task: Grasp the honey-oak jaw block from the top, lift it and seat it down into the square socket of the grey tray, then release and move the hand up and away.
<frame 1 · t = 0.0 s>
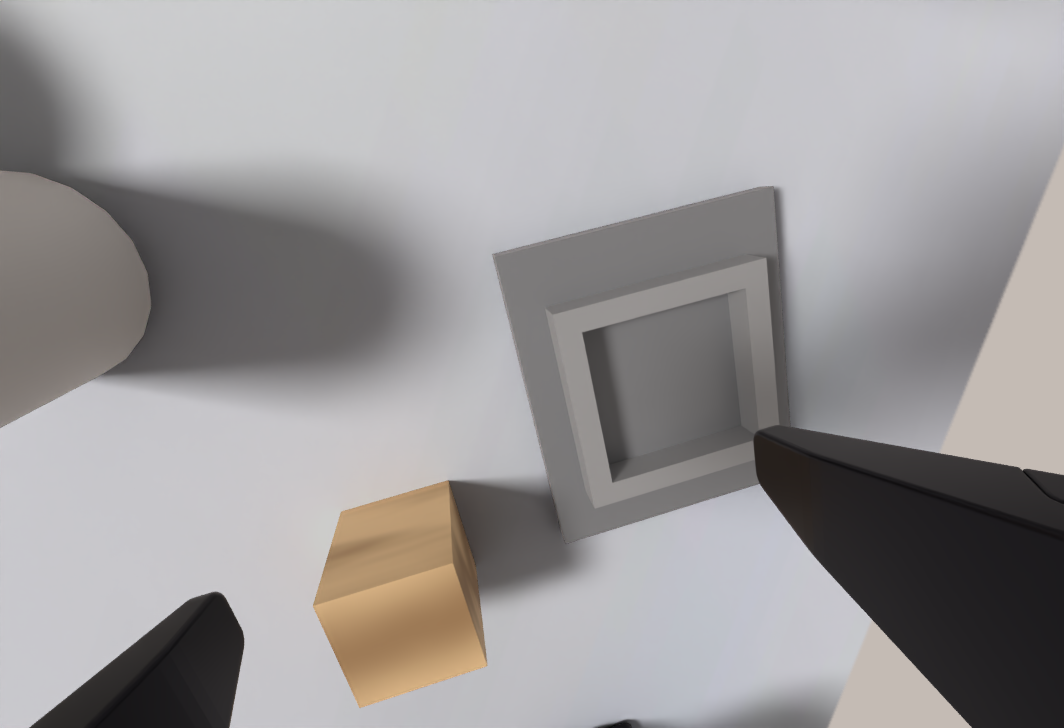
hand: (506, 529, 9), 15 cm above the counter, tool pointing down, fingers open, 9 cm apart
can: (52, 279, 20), on the counter
oak jaw block: (411, 539, 25), on the counter
grey tray: (653, 371, 25), on the counter
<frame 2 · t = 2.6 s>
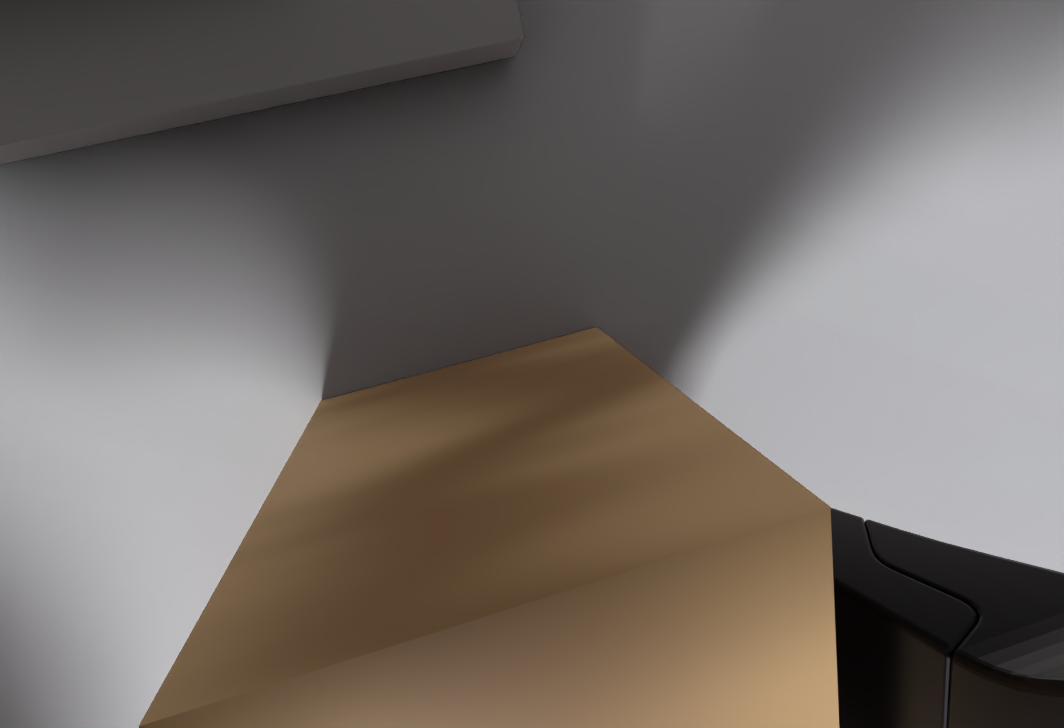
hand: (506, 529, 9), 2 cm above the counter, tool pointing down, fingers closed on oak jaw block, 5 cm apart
oak jaw block: (496, 482, 10), on the counter, touching gripper
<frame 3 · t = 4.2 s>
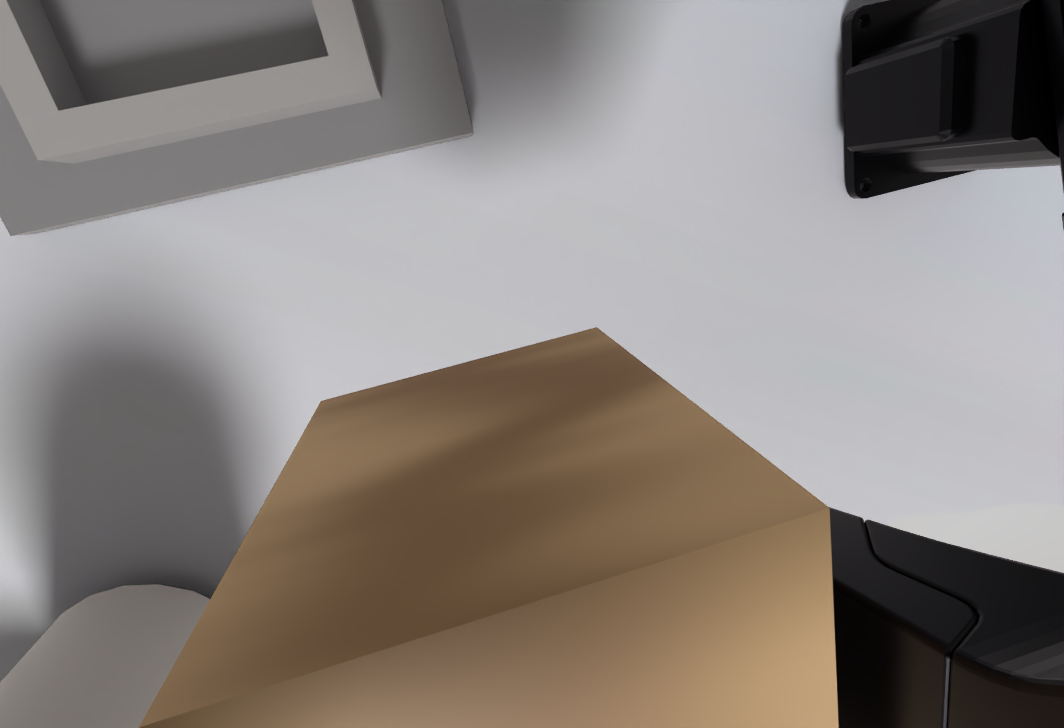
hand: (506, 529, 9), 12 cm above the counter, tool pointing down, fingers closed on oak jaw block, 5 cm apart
can: (165, 642, 22), on the counter
oak jaw block: (496, 483, 10), point 10 cm above the counter, touching gripper
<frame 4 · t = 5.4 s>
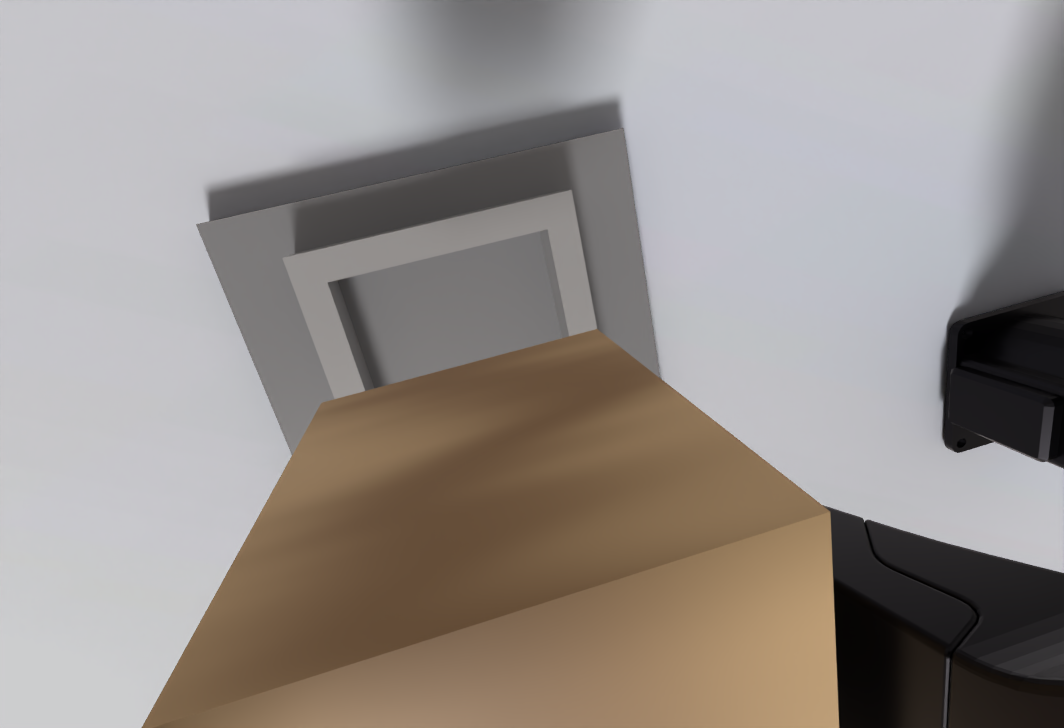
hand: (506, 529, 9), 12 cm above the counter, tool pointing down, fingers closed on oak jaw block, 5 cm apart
oak jaw block: (496, 484, 10), point 10 cm above the counter, touching gripper
grey tray: (464, 340, 20), on the counter
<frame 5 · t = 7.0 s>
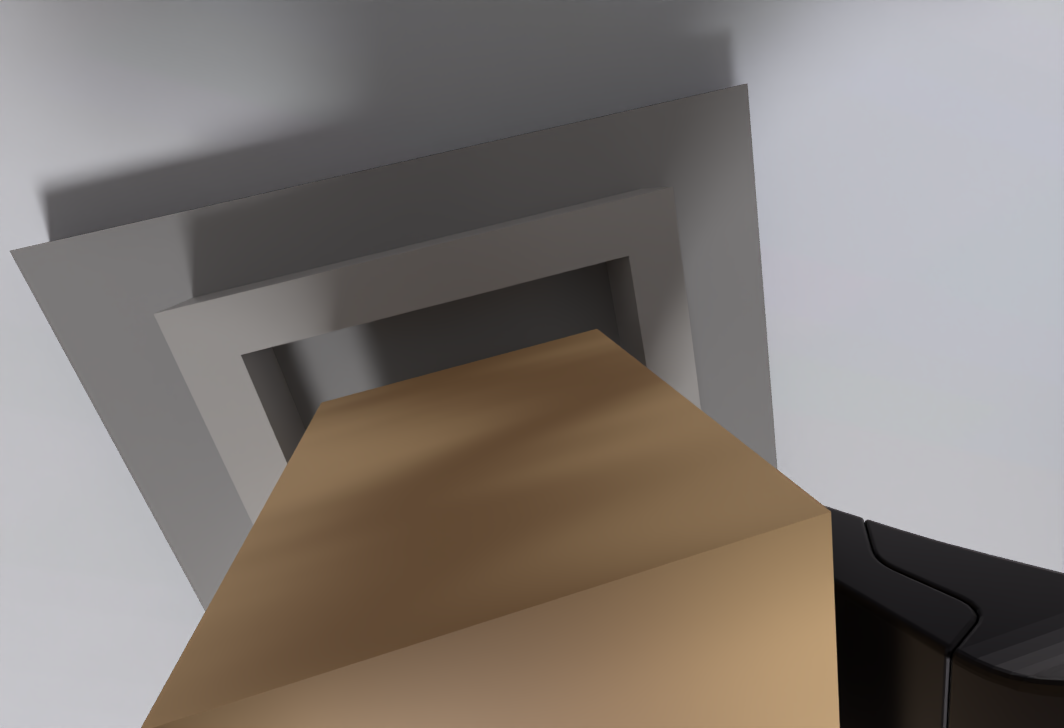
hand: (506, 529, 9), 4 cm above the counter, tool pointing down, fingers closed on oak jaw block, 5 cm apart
oak jaw block: (496, 484, 10), point 3 cm above the counter, touching gripper
grey tray: (479, 422, 13), on the counter
when the fingers open (3 cm above the counter, at t = 8.4 s): oak jaw block stays where it is, resting on grey tray.
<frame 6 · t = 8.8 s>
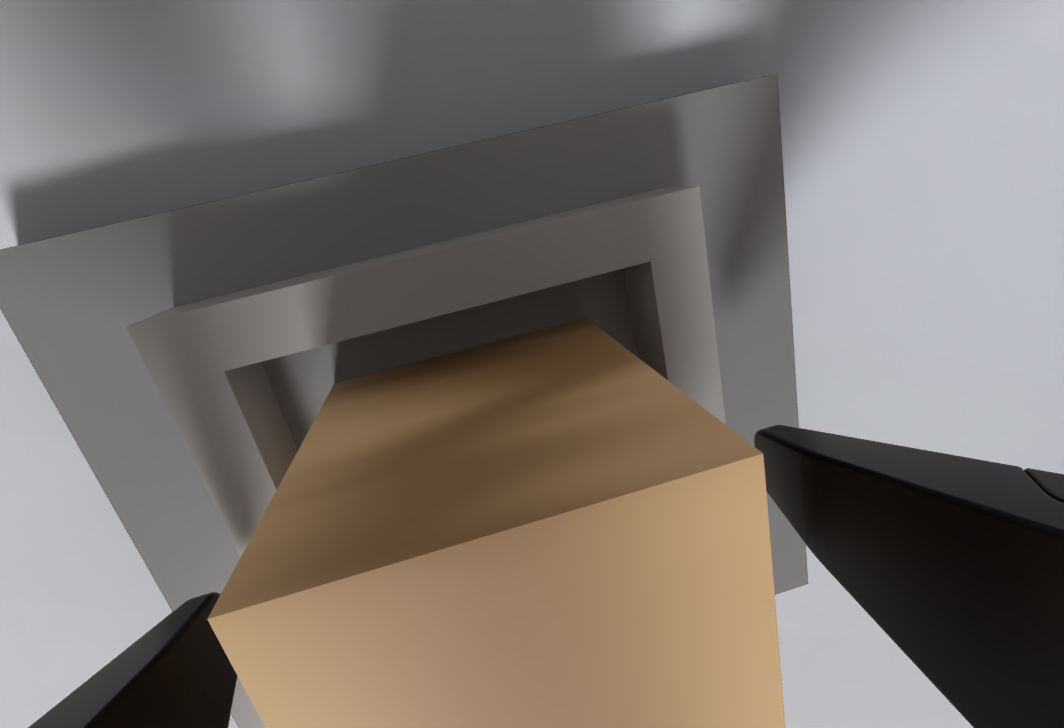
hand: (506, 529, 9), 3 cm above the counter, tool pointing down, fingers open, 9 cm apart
oak jaw block: (493, 460, 11), point 1 cm above the counter, touching grey tray
grey tray: (485, 438, 12), on the counter
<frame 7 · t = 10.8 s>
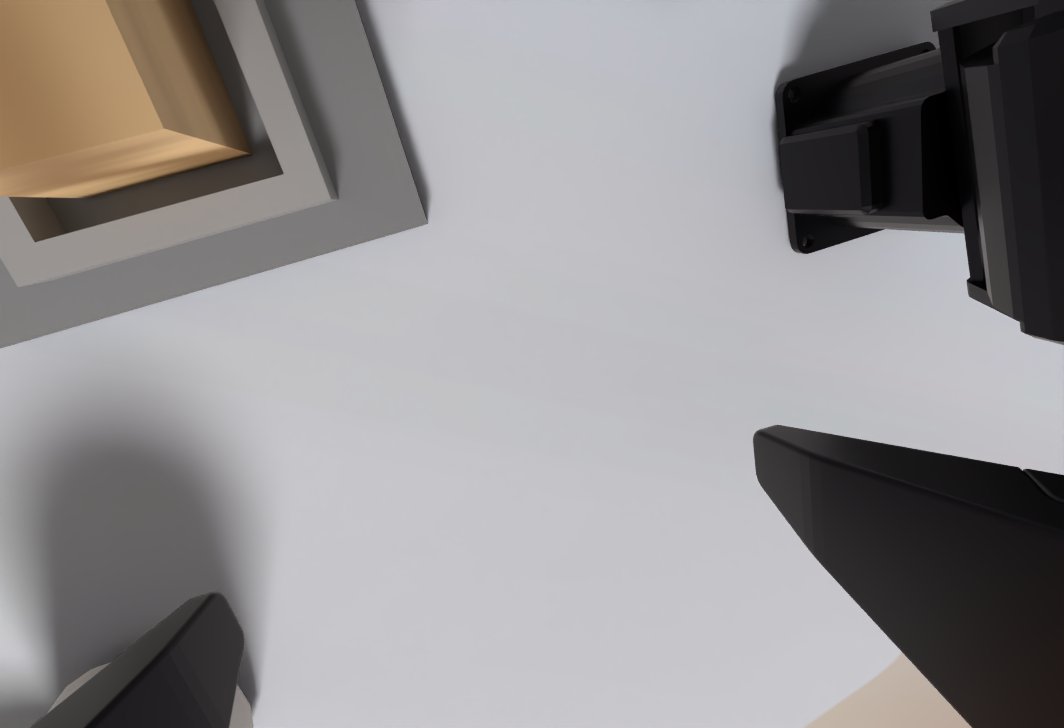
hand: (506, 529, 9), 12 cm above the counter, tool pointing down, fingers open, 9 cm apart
can: (166, 705, 23), on the counter
oak jaw block: (130, 87, 15), point 1 cm above the counter, touching grey tray
grey tray: (144, 92, 16), on the counter
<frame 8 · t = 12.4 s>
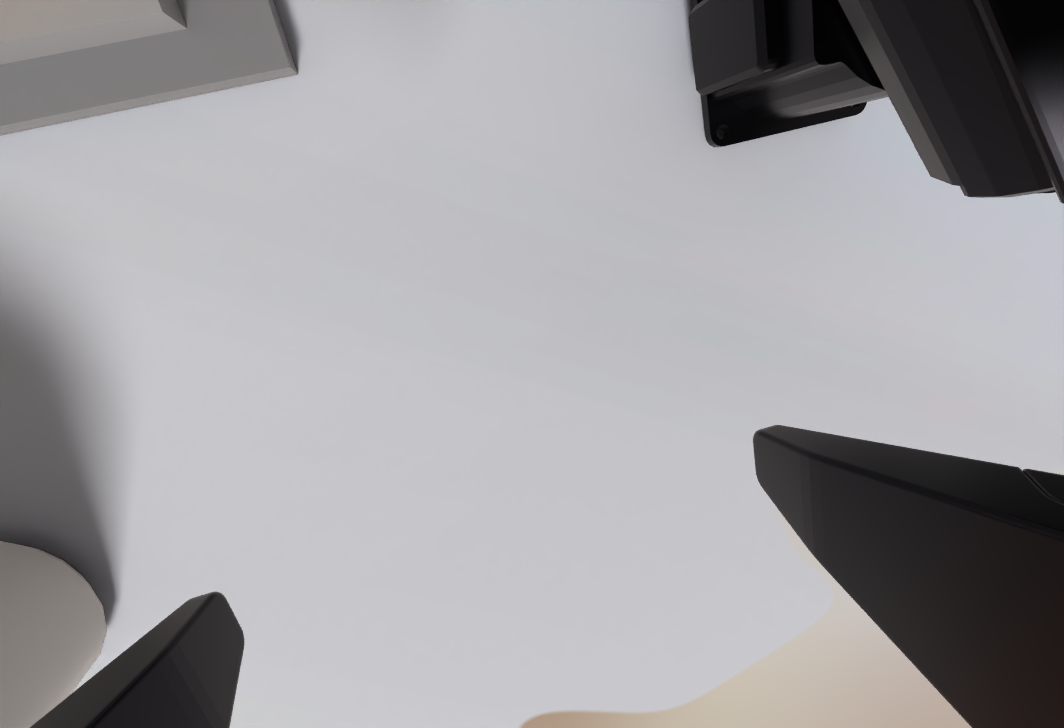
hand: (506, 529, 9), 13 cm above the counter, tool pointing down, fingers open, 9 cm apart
can: (15, 603, 21), on the counter
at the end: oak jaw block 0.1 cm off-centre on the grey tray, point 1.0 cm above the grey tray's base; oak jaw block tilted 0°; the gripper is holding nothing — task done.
